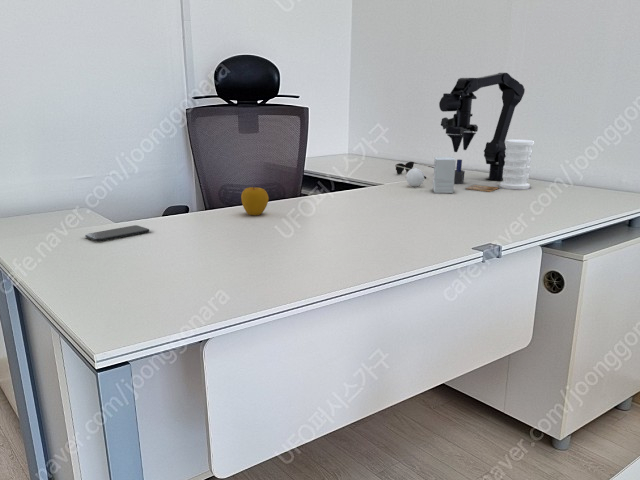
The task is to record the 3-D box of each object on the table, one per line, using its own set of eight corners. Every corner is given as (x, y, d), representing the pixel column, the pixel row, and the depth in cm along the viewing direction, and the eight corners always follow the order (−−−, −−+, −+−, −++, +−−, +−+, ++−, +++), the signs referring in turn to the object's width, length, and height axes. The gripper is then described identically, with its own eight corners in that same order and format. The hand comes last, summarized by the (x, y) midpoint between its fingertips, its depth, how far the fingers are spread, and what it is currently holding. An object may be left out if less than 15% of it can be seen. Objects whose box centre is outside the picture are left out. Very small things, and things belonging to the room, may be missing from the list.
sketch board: (475, 185, 241) (475, 184, 241) (499, 188, 235) (499, 187, 235) (465, 189, 233) (465, 188, 233) (489, 191, 228) (489, 190, 228)
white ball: (427, 187, 238) (428, 168, 235) (413, 188, 234) (414, 169, 231) (411, 183, 246) (412, 165, 243) (397, 185, 242) (398, 166, 239)
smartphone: (136, 227, 173) (83, 237, 162) (136, 224, 172) (83, 234, 162) (151, 232, 167) (97, 242, 157) (150, 229, 167) (97, 239, 156)
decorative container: (518, 183, 245) (524, 139, 239) (535, 188, 235) (541, 141, 228) (494, 185, 242) (498, 139, 236) (509, 189, 232) (515, 142, 225)
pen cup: (454, 181, 250) (455, 169, 248) (465, 182, 248) (466, 170, 246) (449, 183, 247) (450, 171, 245) (460, 184, 244) (461, 172, 242)
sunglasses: (412, 171, 275) (413, 161, 273) (441, 177, 265) (442, 166, 263) (394, 175, 266) (395, 163, 264) (423, 181, 256) (425, 169, 254)
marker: (456, 181, 248) (458, 159, 245) (460, 181, 247) (462, 159, 244) (454, 181, 247) (456, 159, 244) (459, 182, 246) (460, 160, 242)
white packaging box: (451, 189, 232) (453, 157, 227) (453, 193, 225) (456, 159, 220) (432, 189, 232) (434, 156, 228) (433, 193, 225) (436, 159, 221)
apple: (271, 212, 193) (270, 184, 190) (264, 217, 185) (264, 189, 182) (246, 211, 194) (245, 184, 191) (238, 216, 187) (237, 188, 183)
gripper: (454, 109, 248) (451, 147, 254) (434, 111, 234) (432, 151, 240) (479, 110, 242) (476, 149, 248) (461, 112, 228) (457, 153, 234)
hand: (460, 151), depth 242 cm, fingers open, 9 cm apart
